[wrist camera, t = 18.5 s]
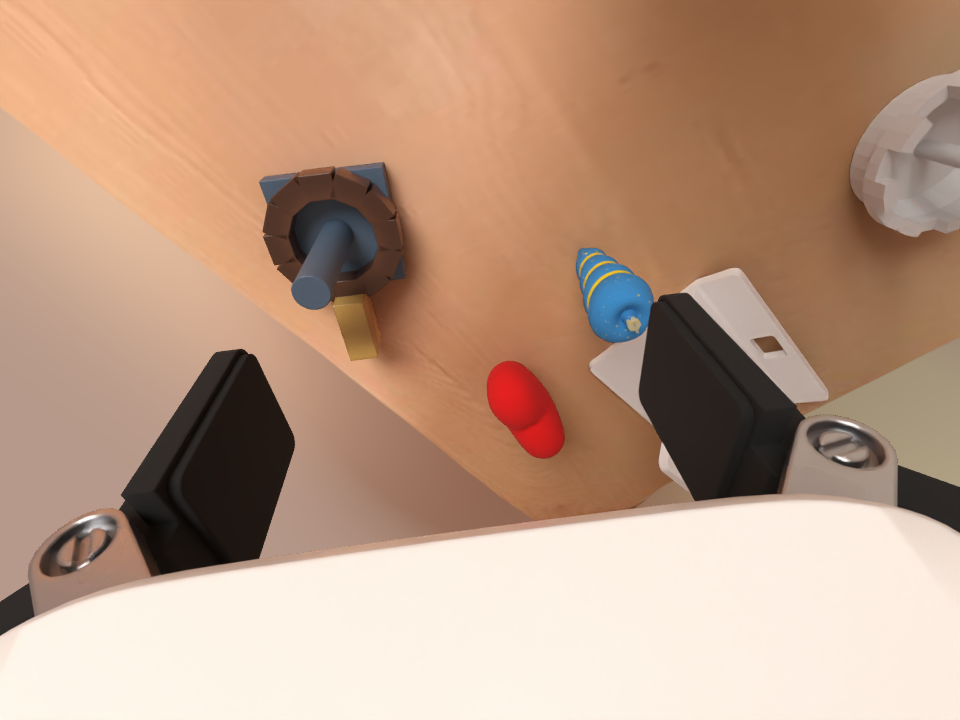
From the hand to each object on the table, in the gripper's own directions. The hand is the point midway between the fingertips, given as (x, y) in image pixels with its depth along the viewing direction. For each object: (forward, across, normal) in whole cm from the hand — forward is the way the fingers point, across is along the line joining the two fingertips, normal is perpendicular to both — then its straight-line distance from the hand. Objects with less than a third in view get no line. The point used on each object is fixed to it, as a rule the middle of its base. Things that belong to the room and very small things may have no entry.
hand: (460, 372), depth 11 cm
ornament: (+32, -12, +12) cm, 37 cm away
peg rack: (+32, +10, +7) cm, 35 cm away
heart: (+32, -5, +26) cm, 42 cm away
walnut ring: (+31, +10, +10) cm, 34 cm away
